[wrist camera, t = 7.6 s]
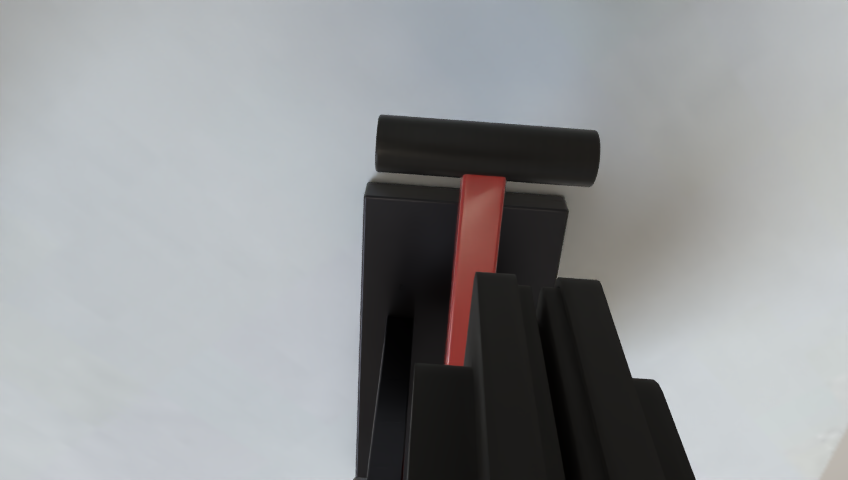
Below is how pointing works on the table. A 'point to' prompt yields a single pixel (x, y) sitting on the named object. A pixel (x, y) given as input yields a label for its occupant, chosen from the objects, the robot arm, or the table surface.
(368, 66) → the table surface
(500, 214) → the red lever handle
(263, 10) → the table surface
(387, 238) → the black lever base
